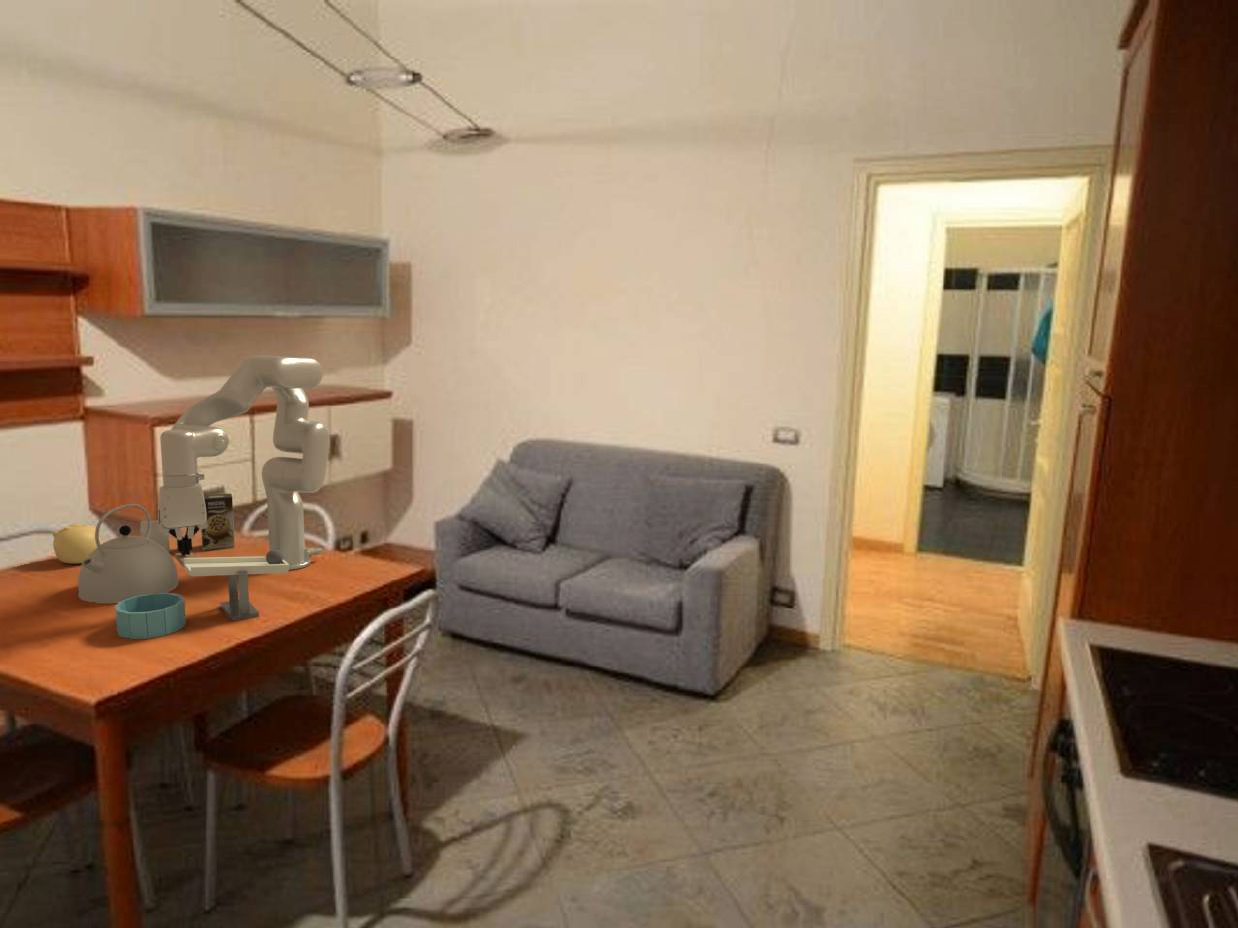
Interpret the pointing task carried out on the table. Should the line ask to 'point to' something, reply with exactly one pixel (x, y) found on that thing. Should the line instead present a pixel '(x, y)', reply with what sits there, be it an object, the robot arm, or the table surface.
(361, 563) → the table surface
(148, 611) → the teal round bowl
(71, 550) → the yellow rounded piece
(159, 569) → the kettle
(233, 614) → the lever stand
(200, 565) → the lever
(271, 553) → the ball
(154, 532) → the tea bag
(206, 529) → the dark cardboard box
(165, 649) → the table surface
